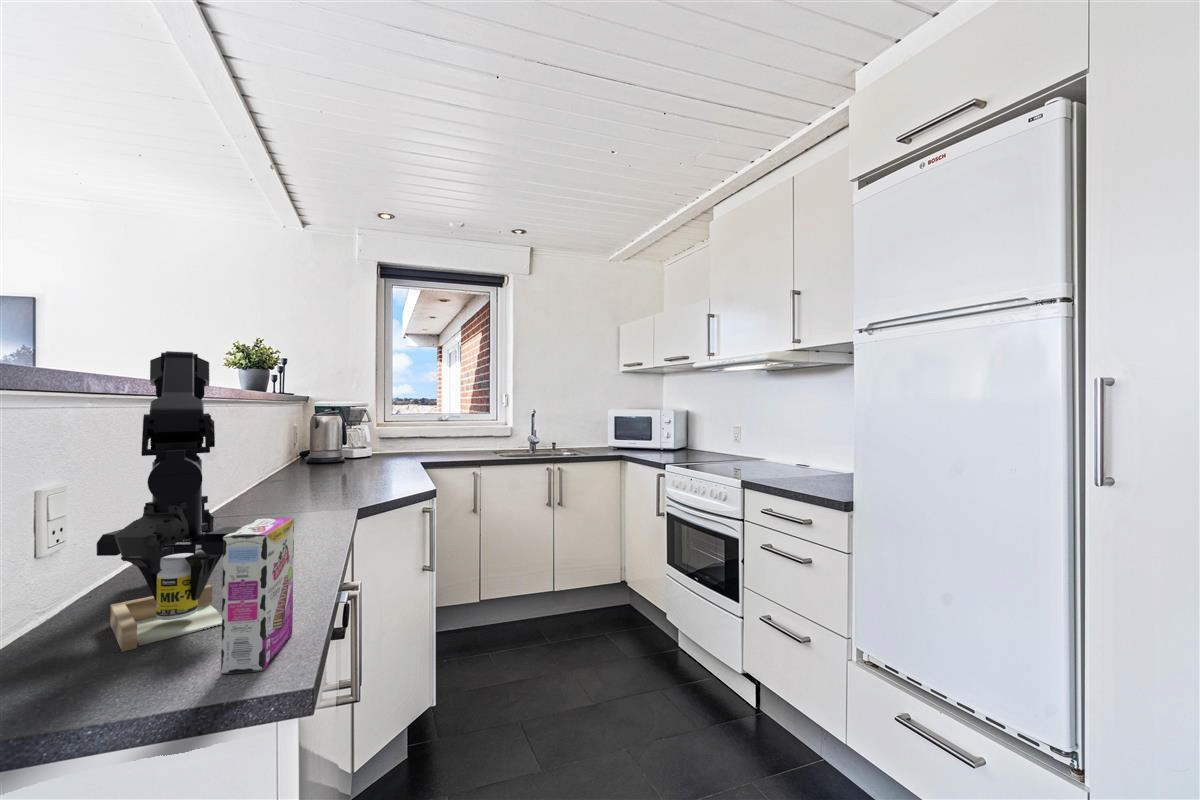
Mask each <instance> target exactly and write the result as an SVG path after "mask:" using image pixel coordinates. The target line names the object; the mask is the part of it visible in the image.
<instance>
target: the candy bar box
mask: <svg viewBox="0 0 1200 800" xmlns="http://www.w3.org/2000/svg"><path fill="white" fill-rule="evenodd" d="M241 527H242V528H240V529H238V530H236V531H234V532H232V533H230V534H228V535H226V536H224V537H223V555H222V587H221V590H222V593H221V595H222V596H221V600H222V601H221V603H222V604H221V605H222V607H221V616H222V625H221V644H220V645H221V646H220V647H221V652H220V653H221V655H220V656H221V657H220V660H221V661H220V663H221V664H220V665H221V667H220V674H221V675H231V674H241V673H243V674H245V673H255V672H262V671H264V670H266V668H268V667H267V666H268V665H270V663H271V662H272V660H273V659H274V658H275V656H276V655H277V653H279V652H280V650H281V649H282V647H284V645H285V644H286V643H287V641H288V640H289V639H290V637H291V636H292V635H293V626H294V625H293V623H294V622H293V614H294V613H293V612H294V611H293V610H294V609H293V608H294V607H293V606H294V603H293V602H294V560H295V559H294V558H295V556H294V555H295V554H294V549H295V547H294V546H295V535H294V533H295V531H294V530H295V518H294V517H274V518H273V517H271V518H259V519H258V518H257V519H256V520H254V521H252V522H250V523H248V524H245V525H243V526H241Z"/></svg>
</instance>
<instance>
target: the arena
mask: <svg viewBox="0 0 1200 800" xmlns="http://www.w3.org/2000/svg"><path fill="white" fill-rule="evenodd" d="M109 609H110V616H109V617H110V619H109V620H110V628H111V630H112V632H113V634H114V637H115V639H116V640H117V644H118V645H119V648H120V650H121V653H122V652H127V651H131V650H135V649H138V647H139V646H144V645H148V644H152V643H155V642H159V641H163V640H168V639H171V638H174V637H179V636H183V635H187V634H191V633H194V632H195V633H196V632H199V631H203V629H204V630H207V628H208V629H210V627H212V628H215V627H214V626H216V627H219V626H218V625H220V626H222V613H220V612H219V611H218V610H217V609H216V608H215V607H213V585H212V584H206V586H205V588H204V590H203V592H202V594H201V596H200V598H199V599H198V608H197V611H196V612H195V613H193V614H192V615H189V616H186V617H183V618H178V619H172V620H161V619H158V618H157V615H156V609H157V601H156V600H155V599H154V596H153V595H152V596H151V595H150V596H147V597H142V598H137V599H132V600H126V601H122V602H116V603H111V604H110V608H109Z"/></svg>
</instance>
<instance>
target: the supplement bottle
mask: <svg viewBox="0 0 1200 800" xmlns="http://www.w3.org/2000/svg"><path fill="white" fill-rule="evenodd" d="M190 555H193V554H192V553H181V554H173V555H169V556H165V557H163V558H161V561H160V569H162V570H161V571H160V572H159V573H158V574H157V609H156V615H157V618H158V619H161V620H172V619H178V618H183V617H186V616H189V615H192V614H193V613H195V612H196V611H197V608H198V599H197V600H195V601H193V600H192V597H191V566H190V564H189V563H188V562H187V561H186V559H185V557H188V556H190Z"/></svg>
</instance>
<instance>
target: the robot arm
mask: <svg viewBox="0 0 1200 800" xmlns="http://www.w3.org/2000/svg"><path fill="white" fill-rule="evenodd" d="M149 371H150V372H149V382H150V385H151V386H152V387H155V396H156V398H155V399H153V400H151V402H150V405H149V406H150V407H149V413H146V414H145V413H143V418H142V419H143V421H142V435H141V436H142V439H141V454H140V455H141V457H144V456H145V457H147V456H148V457H151V456H155V459H154V460H153V461H152V465H151V466H152V469H151V471H150V472H149V476H148V477H147V488H148V490H149V491H150V492H149V493H150V494H151V495H152V500H151V501H149V502H148V501H147V502H145V503H144V507H143V513H142V516H141V517H139V518H137V519H135V520H134V521H131V522H130V523H129V524H128V525H126V526H125V527H123V528H121V529H118V530H115V531H111V532H106V533H103V534H101V537H100V538H99V539H98V540H97V541H96V556H98V557H100V556H101V557H104V556H105V557H106V556H116V557H117V556H119V555H120V556H121V557H120V560H122V561H123V562H128V563H130V564H132V565H134V566H136V567H137V568H138V569H139V571H140V573H141V574H142V576H143V578H144V579H145V582H146V584H147V585H148V589H149V590H150V592H151V594H152V596H154V599H155V600H156V601H157V574H158V573H159V572H160V571H161V570H162V569H160V561H161V558H163V557H165V556H169V555H173V554H181V553H192V554H193V555H190V556H188V557H185V559H186V561H187V562H188V563H189V564H190V566H191V597H192V600H193V601H195V600H197V599H199V598H200V596H201V594H202V592H203V590H204V588H205V586H206V585H208V581H209V579H210V578H211V575H212V573H213V571H214V570H215V567H216V566H217V564H218V563H219V561H220V560H221V558H222V557H223V537H224V536H226V535H228V534H230V533H232V532H234V531H236V530H238V529H240V528H242V527H243V526H224V527H221V528H219V529H215V530H214V520H215V519H214V518H215V517H214V516H213V514H211V512H210V509H209V508H206V509H205V504H207V503H209V502H208V501H209V498H208V497H209V496H208V495H203V467H202V466H203V465H202V464H203V460H202V459H201V456H199V454H209V453H211V448H215V447H216V440H215V439H216V437H215V436H216V435H215V434H216V433H215V420H214V419H212V416H211V414H210V413H208V412H206V413H204V411H205V409H204V400H203V398H204V397H205V387H210V362H209V361H208V360H205V359H203V358H200V357H199V355H198V353H194V352H192V351H191V352H190V351H170V350H169V351H168V350H166V351H165V352H160V356H158V357H155V358H152V359H150V360H149ZM149 442H150V444H149ZM203 444H205V445H204V446H203ZM149 445H150V448H149Z"/></svg>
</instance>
